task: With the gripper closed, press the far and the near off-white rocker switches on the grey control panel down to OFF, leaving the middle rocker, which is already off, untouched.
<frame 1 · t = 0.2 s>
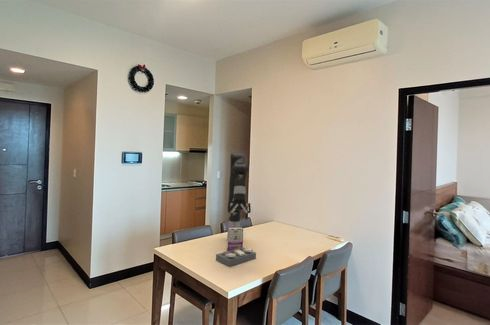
hand: (238, 219, 170), 31 cm above the table, tool tilted 20°, fingers open, 8 cm apart
grey control panel: (236, 259, 186), on the table
candy bar box: (234, 250, 205), on the table
rocker c: (230, 255, 179), point 5 cm above the table, hinge at -10.0°
rocker a: (248, 250, 190), point 5 cm above the table, hinge at -10.0°
rocker b: (239, 252, 184), point 5 cm above the table, hinge at 10.0°
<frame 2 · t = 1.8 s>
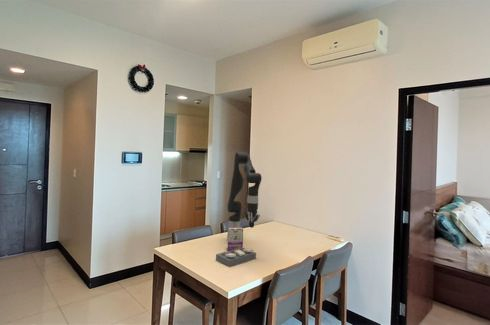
hand: (251, 227, 188), 22 cm above the table, tool pointing down, fingers closed
nothing on the table moved.
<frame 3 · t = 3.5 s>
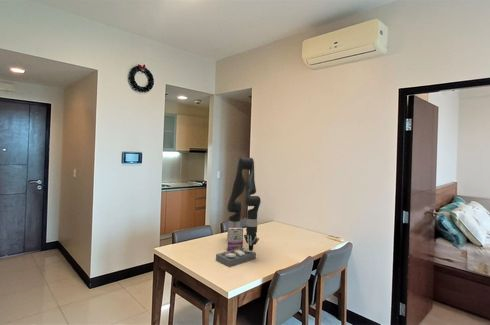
hand: (250, 250, 188), 6 cm above the table, tool pointing down, fingers closed
rocker a: (248, 250, 190), point 5 cm above the table, hinge at -9.7°, touching gripper
everything else where it was.
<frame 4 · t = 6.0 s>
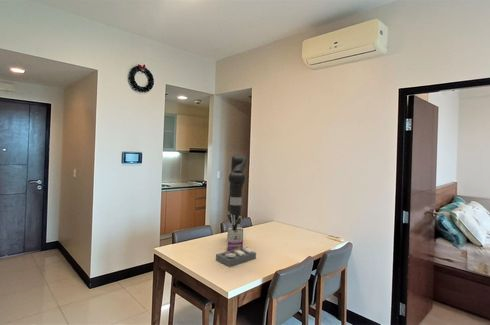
hand: (234, 230, 177), 22 cm above the table, tool pointing down, fingers closed
rocker a: (248, 250, 190), point 5 cm above the table, hinge at 8.2°
everything else where it was.
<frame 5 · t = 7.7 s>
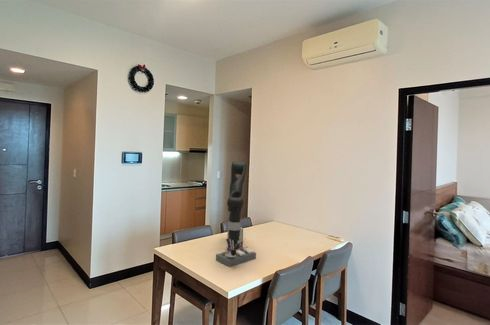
hand: (233, 255, 177), 6 cm above the table, tool pointing down, fingers closed
rocker c: (230, 255, 179), point 5 cm above the table, hinge at -9.0°, touching gripper
rocker a: (248, 250, 190), point 5 cm above the table, hinge at 14.3°
everything else where it was.
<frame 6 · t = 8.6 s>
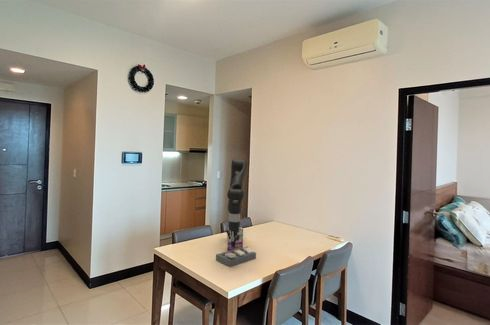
hand: (233, 246, 177), 12 cm above the table, tool pointing down, fingers closed
rocker c: (230, 255, 179), point 5 cm above the table, hinge at -1.5°
rocker a: (248, 250, 190), point 5 cm above the table, hinge at 16.3°
everything else where it was.
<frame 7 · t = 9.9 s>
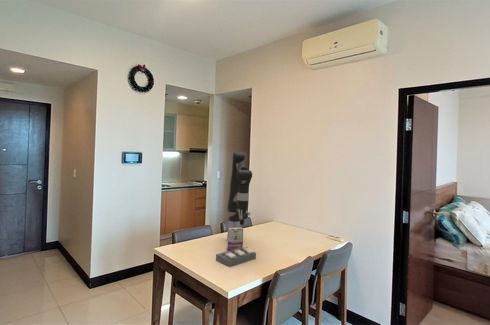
hand: (241, 224, 186), 24 cm above the table, tool pointing down, fingers closed
rocker c: (230, 255, 179), point 5 cm above the table, hinge at 6.5°
rocker a: (248, 250, 190), point 5 cm above the table, hinge at 18.3°, touching grey control panel
everything else where it was.
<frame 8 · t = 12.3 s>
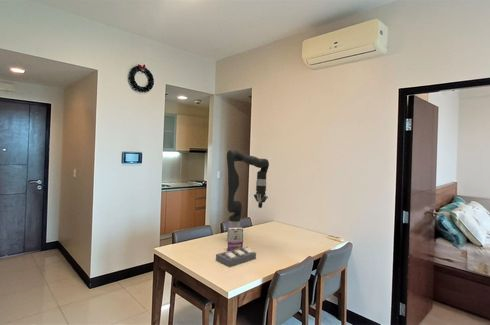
hand: (260, 207, 208), 32 cm above the table, tool pointing down, fingers closed
rocker c: (230, 255, 178), point 5 cm above the table, hinge at 14.2°
rocker a: (248, 250, 190), point 5 cm above the table, hinge at 19.3°, touching grey control panel
everything else where it was.
at the end: rocker a at +19° (first picture: -10°); rocker c at +15° (first picture: -10°); rocker b at +10° (first picture: +10°) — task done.
